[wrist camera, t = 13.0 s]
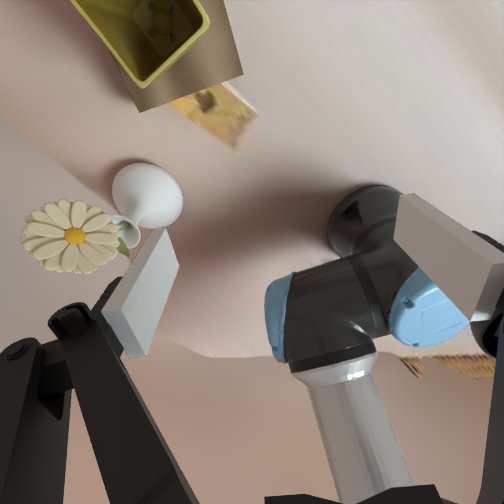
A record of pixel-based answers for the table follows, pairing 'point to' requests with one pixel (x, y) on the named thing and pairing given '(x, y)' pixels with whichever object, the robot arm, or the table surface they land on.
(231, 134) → the table surface
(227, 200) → the table surface
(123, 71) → the walnut block
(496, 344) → the coal bowl
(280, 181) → the table surface
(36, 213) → the flower in vase
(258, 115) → the table surface
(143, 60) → the flower pot
